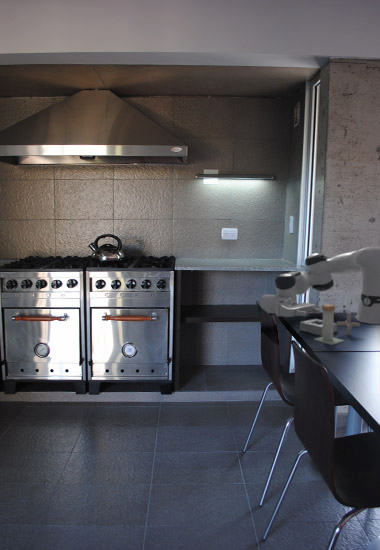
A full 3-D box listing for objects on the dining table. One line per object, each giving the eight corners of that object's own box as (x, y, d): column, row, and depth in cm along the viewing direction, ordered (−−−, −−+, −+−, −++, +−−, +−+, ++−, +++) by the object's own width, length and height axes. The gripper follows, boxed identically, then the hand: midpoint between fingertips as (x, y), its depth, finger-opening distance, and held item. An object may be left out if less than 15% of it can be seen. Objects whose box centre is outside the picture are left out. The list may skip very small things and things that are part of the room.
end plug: (326, 336, 200) (327, 303, 197) (336, 339, 195) (337, 305, 193) (318, 338, 197) (319, 305, 194) (329, 341, 192) (329, 308, 190)
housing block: (315, 326, 220) (315, 318, 220) (336, 331, 211) (337, 323, 210) (299, 330, 213) (300, 321, 212) (320, 335, 204) (321, 327, 203)
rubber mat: (326, 336, 202) (326, 335, 202) (343, 341, 195) (344, 340, 195) (313, 340, 196) (314, 338, 196) (331, 345, 189) (331, 343, 189)
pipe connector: (361, 338, 200) (362, 316, 199) (337, 336, 202) (339, 315, 201) (357, 332, 210) (358, 311, 209) (335, 331, 212) (336, 310, 211)
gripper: (301, 311, 219) (325, 316, 208) (273, 316, 206) (297, 322, 195) (302, 298, 218) (326, 303, 207) (274, 303, 205) (298, 308, 194)
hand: (312, 312), depth 201 cm, fingers open, 8 cm apart
